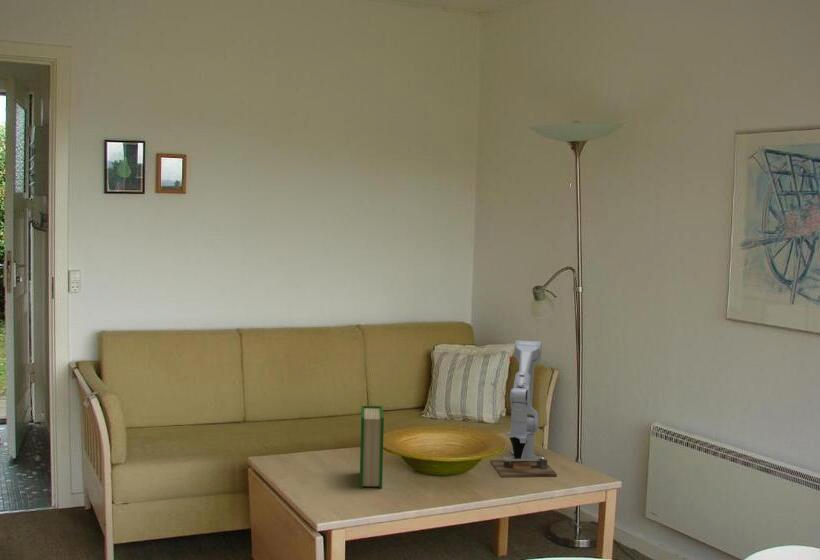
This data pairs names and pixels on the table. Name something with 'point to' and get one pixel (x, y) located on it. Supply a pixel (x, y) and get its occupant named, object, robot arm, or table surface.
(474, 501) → the table surface
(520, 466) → the strap board
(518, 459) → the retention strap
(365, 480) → the hardback book
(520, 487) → the table surface
